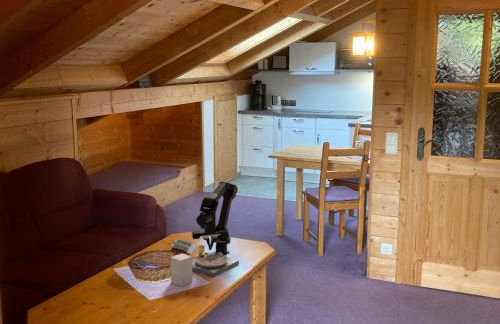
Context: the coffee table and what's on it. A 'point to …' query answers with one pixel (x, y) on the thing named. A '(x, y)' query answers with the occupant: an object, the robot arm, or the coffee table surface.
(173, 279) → the supplement box
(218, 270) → the base plate
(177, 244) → the metal bracket
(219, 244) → the robot arm
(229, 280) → the coffee table surface
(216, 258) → the silver round platform
